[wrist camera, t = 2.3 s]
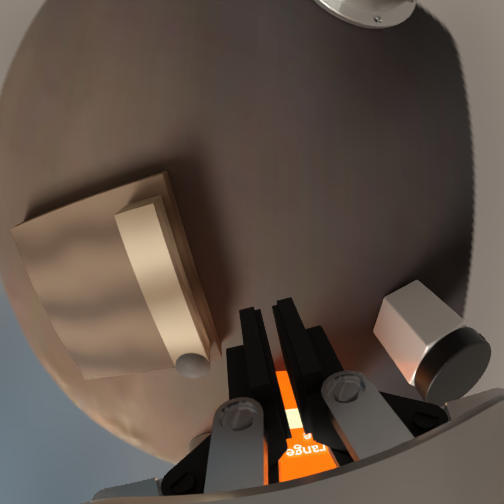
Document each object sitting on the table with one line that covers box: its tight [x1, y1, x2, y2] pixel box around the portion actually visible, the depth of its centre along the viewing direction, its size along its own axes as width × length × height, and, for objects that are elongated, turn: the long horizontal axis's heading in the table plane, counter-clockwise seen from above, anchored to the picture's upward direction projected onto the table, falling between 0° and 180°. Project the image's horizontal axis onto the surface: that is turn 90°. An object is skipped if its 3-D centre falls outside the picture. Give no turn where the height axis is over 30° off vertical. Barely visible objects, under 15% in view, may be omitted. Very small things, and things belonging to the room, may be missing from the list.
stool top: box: [11, 170, 222, 379], centre depth 27 cm, size 18×16×2 cm
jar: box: [373, 280, 491, 407], centre depth 28 cm, size 9×8×12 cm
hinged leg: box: [114, 195, 210, 378], centre depth 25 cm, size 16×3×3 cm, turn 13°
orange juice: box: [276, 371, 337, 482], centre depth 26 cm, size 8×9×20 cm
